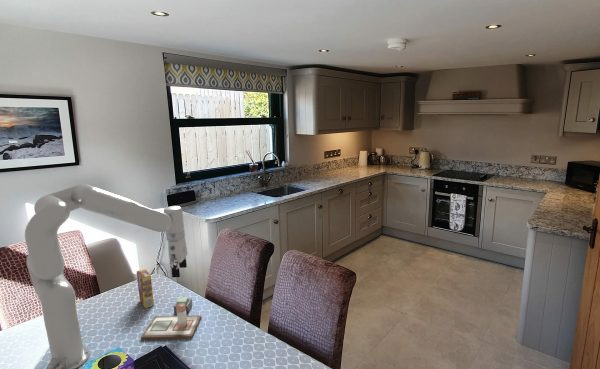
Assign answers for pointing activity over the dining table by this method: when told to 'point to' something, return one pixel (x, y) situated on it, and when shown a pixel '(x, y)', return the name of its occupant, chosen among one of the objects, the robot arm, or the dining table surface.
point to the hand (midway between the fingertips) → (179, 272)
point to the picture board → (170, 328)
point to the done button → (182, 300)
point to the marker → (181, 315)
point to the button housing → (185, 306)
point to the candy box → (145, 288)
